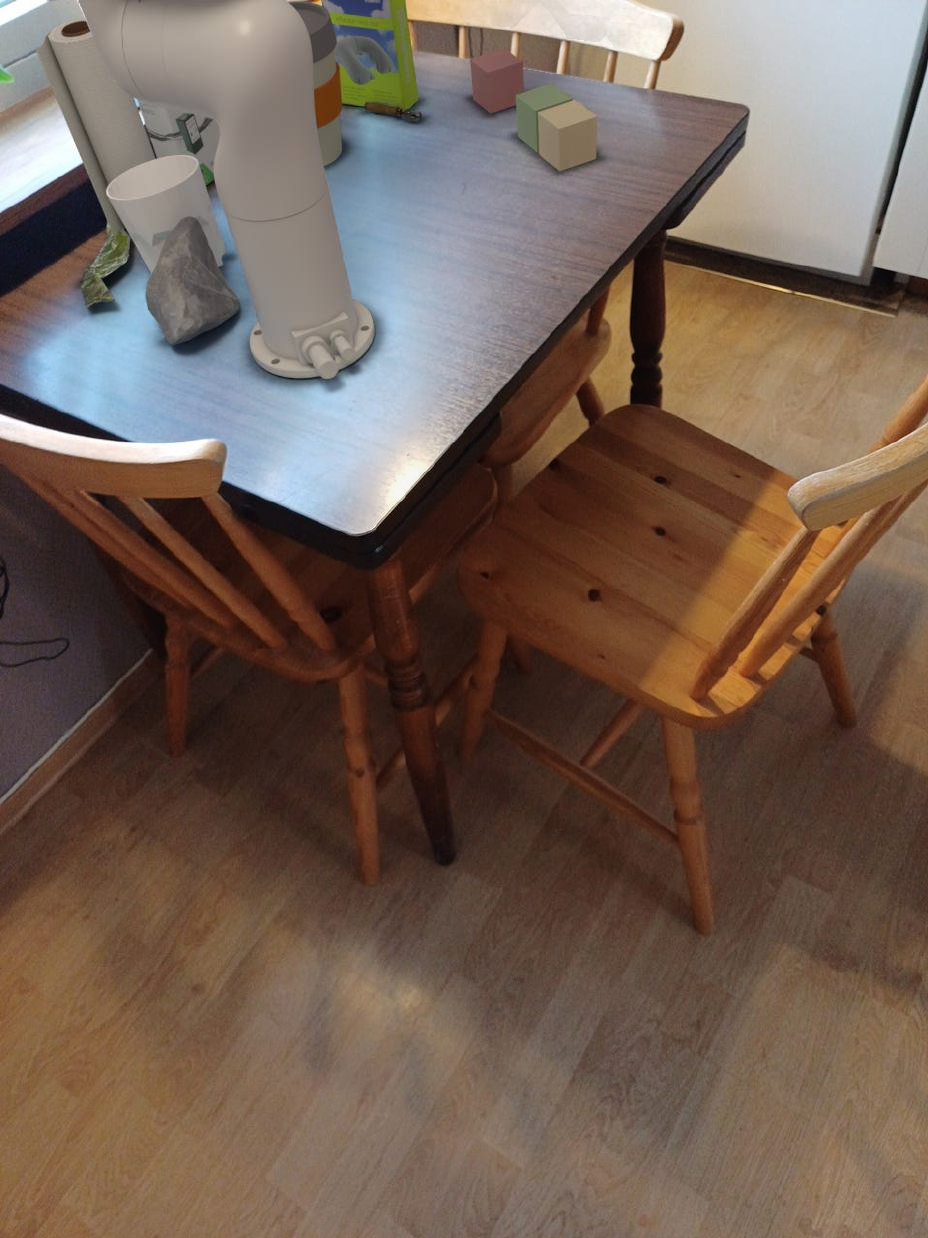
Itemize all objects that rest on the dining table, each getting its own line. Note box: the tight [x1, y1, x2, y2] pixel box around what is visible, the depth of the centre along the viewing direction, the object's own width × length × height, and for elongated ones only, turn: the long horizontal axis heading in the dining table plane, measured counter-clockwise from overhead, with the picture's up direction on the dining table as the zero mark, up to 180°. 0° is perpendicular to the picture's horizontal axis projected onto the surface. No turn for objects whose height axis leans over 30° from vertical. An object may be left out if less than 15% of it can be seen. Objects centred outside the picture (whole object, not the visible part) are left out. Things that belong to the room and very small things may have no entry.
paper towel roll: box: [35, 17, 157, 238], centre depth 104 cm, size 7×6×21 cm
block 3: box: [538, 99, 598, 173], centre depth 111 cm, size 5×5×5 cm
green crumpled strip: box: [79, 220, 132, 309], centre depth 109 cm, size 6×25×2 cm, turn 178°
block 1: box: [469, 48, 525, 115], centre depth 121 cm, size 5×5×5 cm
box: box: [320, 0, 419, 111], centre depth 120 cm, size 10×4×17 cm, turn 63°
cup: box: [106, 155, 227, 275], centre depth 102 cm, size 10×10×10 cm
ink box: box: [136, 99, 220, 187], centre depth 114 cm, size 9×5×12 cm, turn 146°
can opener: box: [364, 102, 423, 122], centre depth 123 cm, size 9×2×1 cm, turn 56°
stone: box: [144, 216, 240, 346], centre depth 97 cm, size 12×11×10 cm
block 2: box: [515, 82, 574, 154], centre depth 114 cm, size 5×5×5 cm
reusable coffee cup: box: [288, 0, 343, 167], centre depth 114 cm, size 13×13×15 cm
